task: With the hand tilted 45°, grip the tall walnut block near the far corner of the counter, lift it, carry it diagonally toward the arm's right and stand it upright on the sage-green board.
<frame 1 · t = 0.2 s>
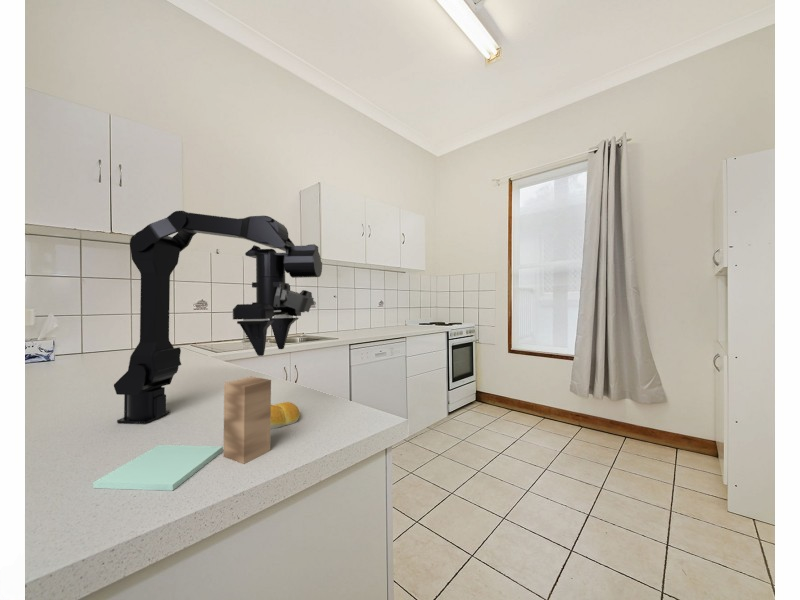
hand: (271, 352, 66), 15 cm above the worktop, tool pointing down, fingers open, 9 cm apart
green board: (165, 467, 47), on the worktop
bread roll: (276, 423, 66), on the worktop
walnut block: (247, 453, 52), on the worktop
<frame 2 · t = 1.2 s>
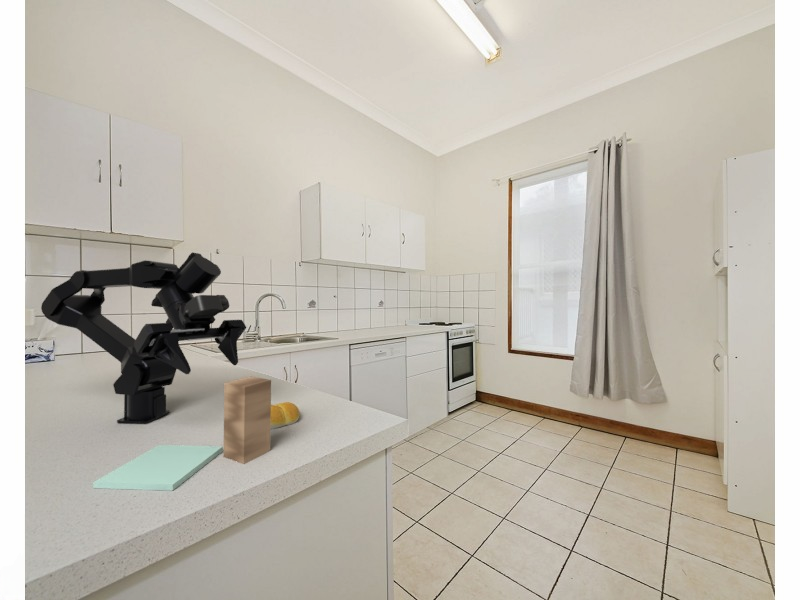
hand: (214, 368, 60), 12 cm above the worktop, tool tilted 45°, fingers open, 9 cm apart
nothing on the worktop moved.
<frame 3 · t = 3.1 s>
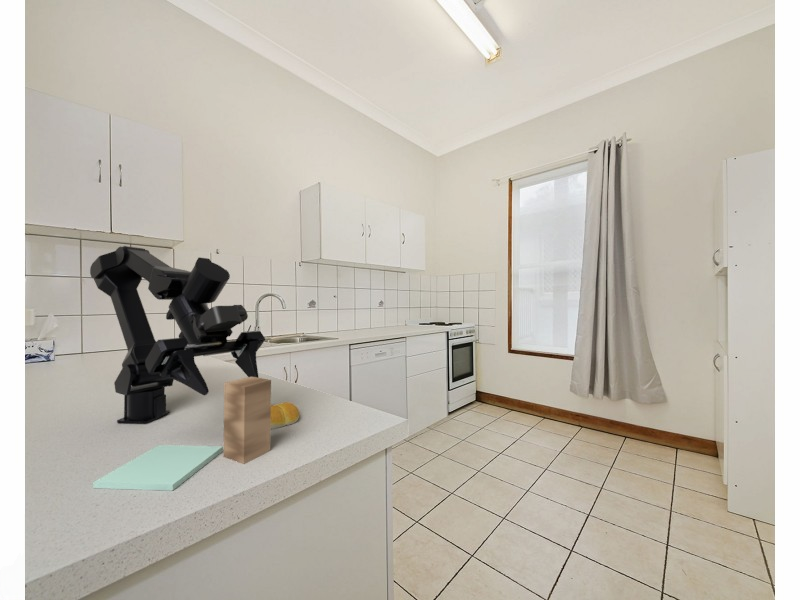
hand: (233, 386, 54), 11 cm above the worktop, tool tilted 45°, fingers open, 9 cm apart
nothing on the worktop moved.
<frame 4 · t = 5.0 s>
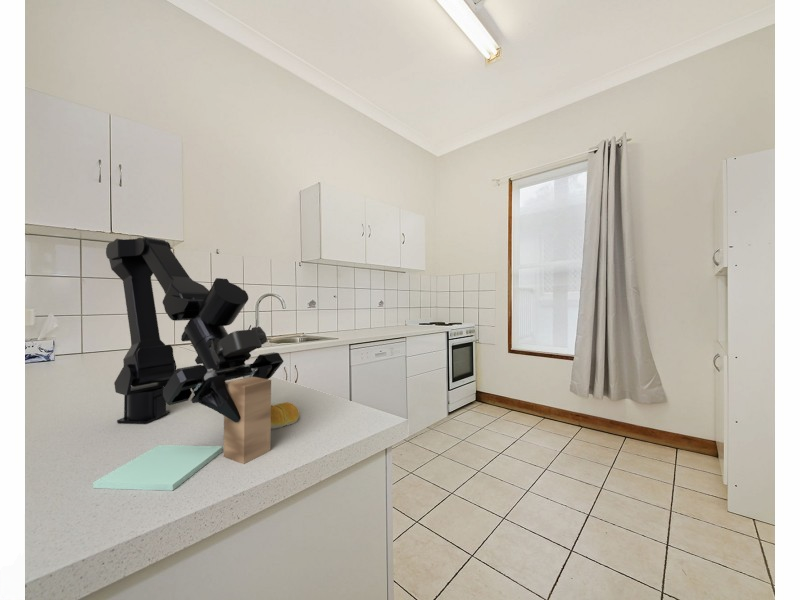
hand: (253, 415, 51), 7 cm above the worktop, tool tilted 45°, fingers closed on walnut block, 5 cm apart
walnut block: (247, 453, 52), on the worktop, touching gripper
everything else where it was.
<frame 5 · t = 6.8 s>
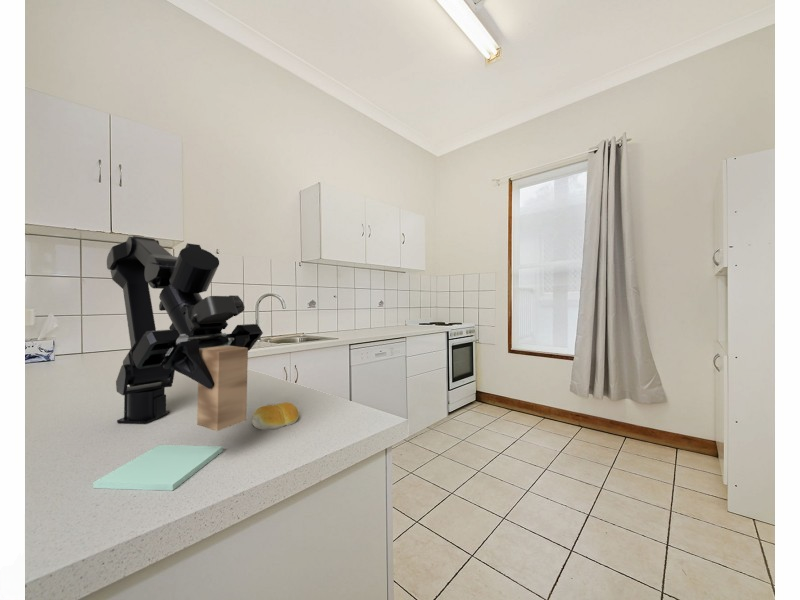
hand: (228, 382, 50), 12 cm above the worktop, tool tilted 45°, fingers closed on walnut block, 5 cm apart
walnut block: (222, 422, 51), point 6 cm above the worktop, touching gripper
everything else where it was.
when the fingers open (9 cm above the worktop, at t = 8.7 s): walnut block drops 1 cm, resting on green board.
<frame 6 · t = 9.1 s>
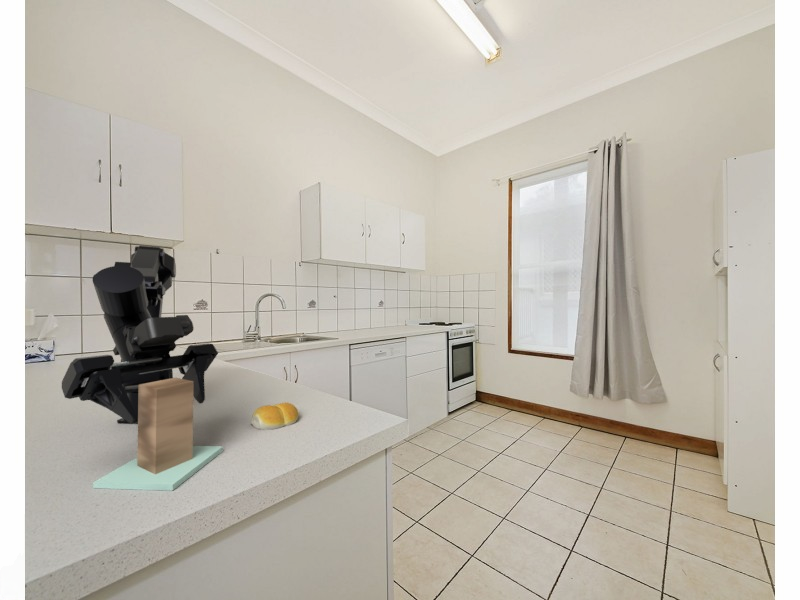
hand: (171, 410, 47), 9 cm above the worktop, tool tilted 45°, fingers open, 9 cm apart
walnut block: (165, 462, 47), point 1 cm above the worktop, touching green board
everything else where it was.
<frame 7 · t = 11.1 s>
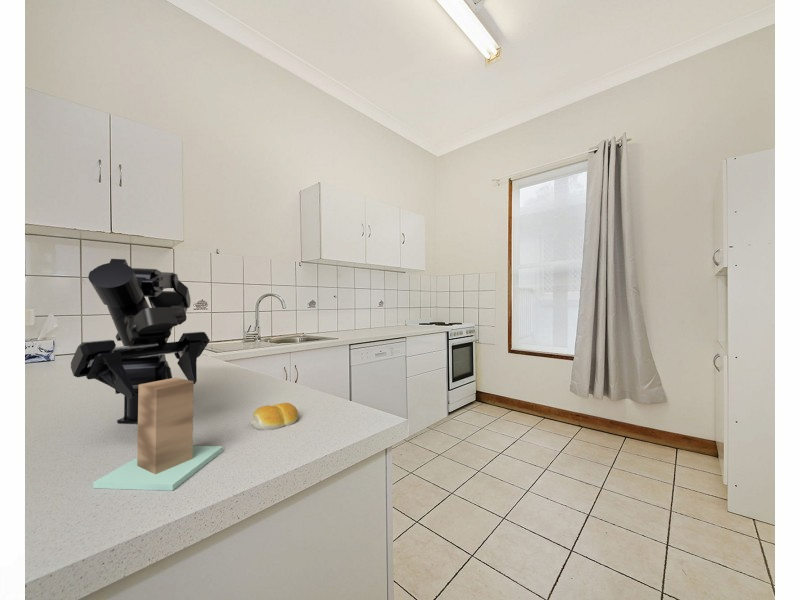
hand: (166, 389, 53), 10 cm above the worktop, tool tilted 45°, fingers open, 9 cm apart
nothing on the worktop moved.
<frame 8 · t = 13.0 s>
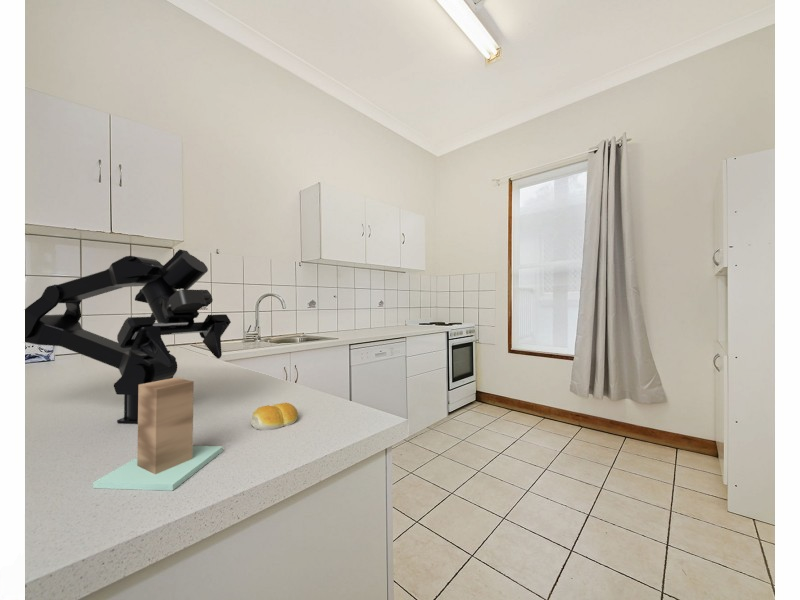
hand: (197, 360, 61), 14 cm above the worktop, tool tilted 45°, fingers open, 9 cm apart
nothing on the worktop moved.
at the end: walnut block inside the target area on the green board (0.0 cm from its centre), point 0.8 cm above the green board's base; walnut block tilted 0°; the gripper is holding nothing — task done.
